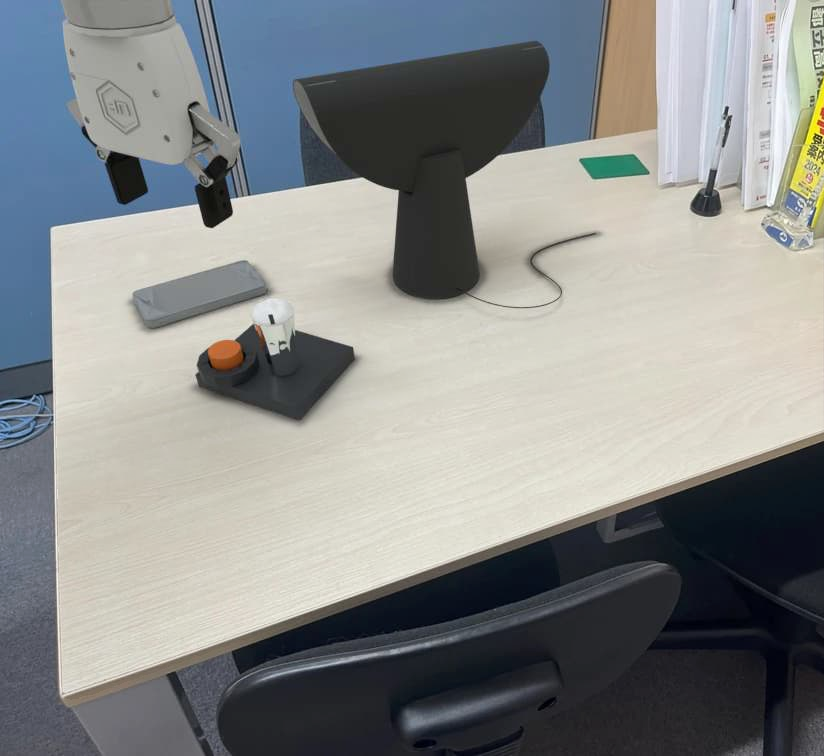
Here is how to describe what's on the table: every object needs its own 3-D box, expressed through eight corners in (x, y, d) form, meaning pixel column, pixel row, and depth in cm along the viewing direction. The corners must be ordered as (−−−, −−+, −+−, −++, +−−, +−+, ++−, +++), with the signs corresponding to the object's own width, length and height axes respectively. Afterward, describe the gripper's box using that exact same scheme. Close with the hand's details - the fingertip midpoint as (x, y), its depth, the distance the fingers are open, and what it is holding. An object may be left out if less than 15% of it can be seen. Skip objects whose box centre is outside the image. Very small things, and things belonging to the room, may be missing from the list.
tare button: (204, 365, 82) (200, 353, 81) (225, 347, 85) (221, 336, 83) (230, 374, 81) (226, 362, 80) (250, 355, 84) (247, 344, 82)
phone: (269, 293, 99) (267, 285, 98) (149, 330, 92) (146, 322, 91) (248, 266, 104) (246, 258, 103) (133, 299, 97) (130, 291, 96)
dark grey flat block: (192, 390, 83) (185, 367, 81) (259, 330, 92) (254, 308, 90) (295, 424, 80) (290, 402, 77) (355, 358, 89) (352, 336, 86)
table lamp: (476, 194, 123) (477, 4, 103) (622, 242, 112) (655, 40, 93) (312, 303, 97) (272, 77, 78) (482, 379, 86) (486, 140, 67)
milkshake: (265, 387, 81) (247, 317, 75) (264, 358, 85) (247, 289, 79) (306, 381, 82) (292, 311, 76) (303, 353, 86) (289, 284, 80)
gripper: (-11, -3, 53) (70, 206, 64) (174, 31, 49) (226, 250, 60) (71, -21, 59) (132, 175, 70) (244, 8, 54) (280, 212, 65)
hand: (175, 209), depth 65 cm, fingers open, 9 cm apart
